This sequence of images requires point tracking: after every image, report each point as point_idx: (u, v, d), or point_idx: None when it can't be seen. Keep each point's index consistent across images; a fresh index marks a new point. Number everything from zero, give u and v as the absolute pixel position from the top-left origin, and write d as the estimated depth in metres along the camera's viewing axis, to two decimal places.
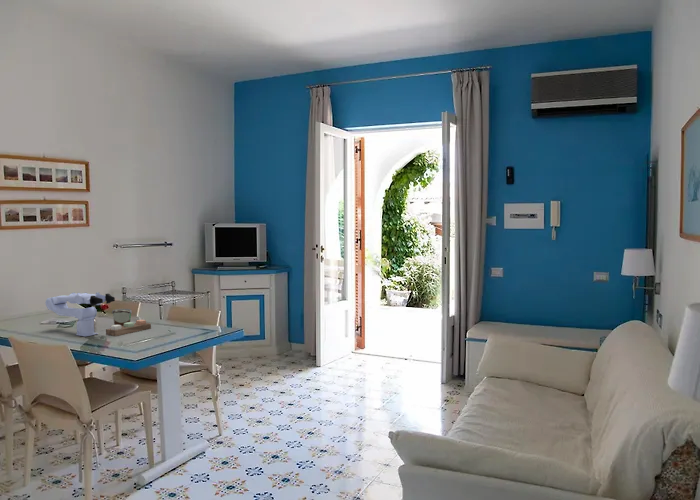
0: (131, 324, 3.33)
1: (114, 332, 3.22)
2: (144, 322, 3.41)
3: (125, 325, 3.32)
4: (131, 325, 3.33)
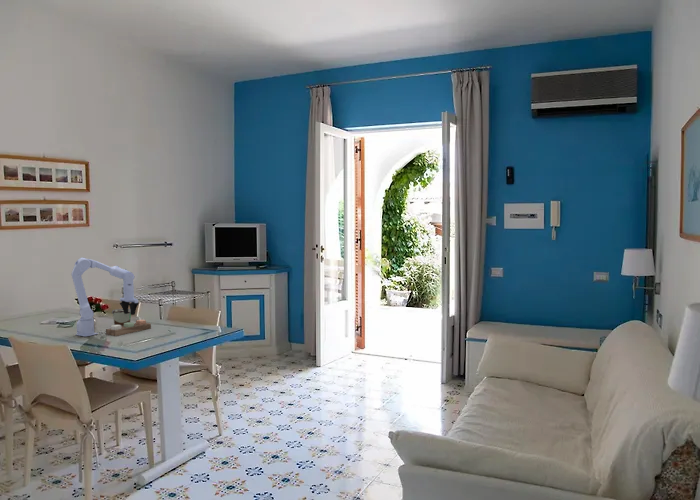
0: (131, 324, 3.33)
1: (114, 332, 3.22)
2: (144, 322, 3.41)
3: (125, 325, 3.32)
4: (131, 325, 3.33)
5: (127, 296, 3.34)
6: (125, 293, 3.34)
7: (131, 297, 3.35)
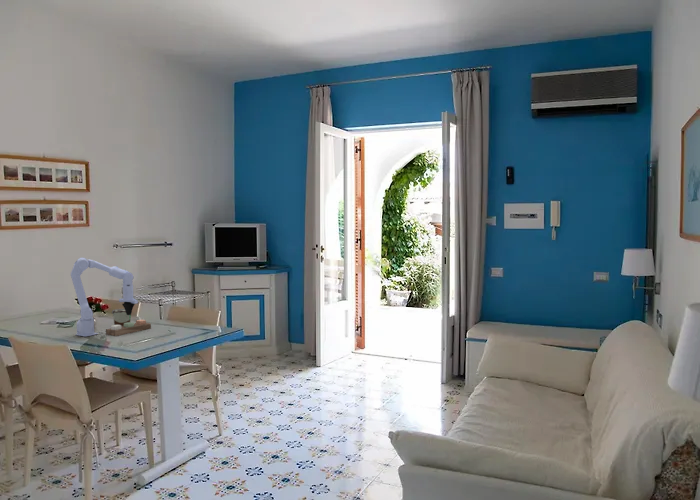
0: (131, 324, 3.33)
1: (114, 332, 3.22)
2: (144, 322, 3.41)
3: (125, 325, 3.32)
4: (131, 325, 3.33)
5: (126, 297, 3.32)
6: (124, 294, 3.32)
7: (130, 298, 3.33)
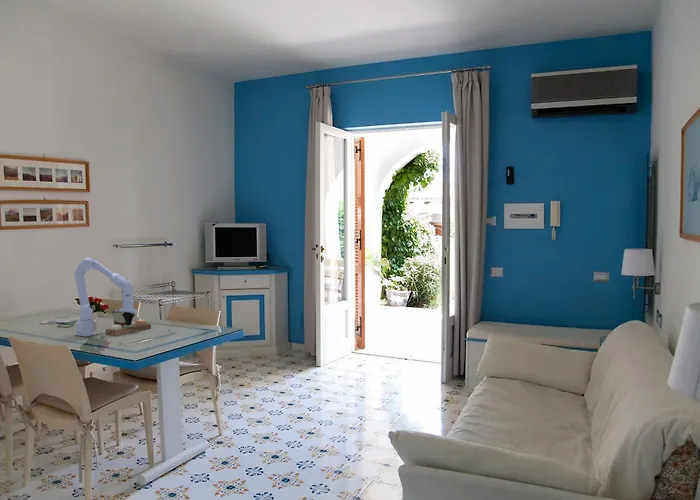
0: (131, 326, 3.33)
1: (114, 332, 3.22)
2: (144, 322, 3.41)
3: None
4: None
5: (126, 307, 3.30)
6: (124, 304, 3.30)
7: (130, 308, 3.31)
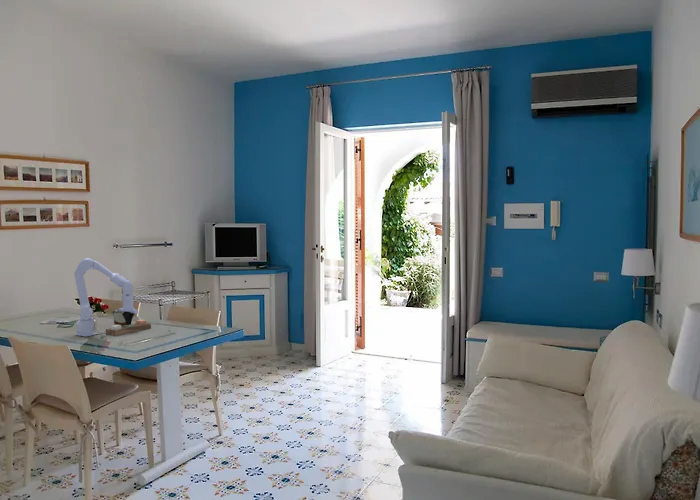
0: (131, 326, 3.33)
1: (114, 332, 3.22)
2: (144, 322, 3.41)
3: None
4: None
5: (126, 306, 3.30)
6: (124, 303, 3.30)
7: (130, 307, 3.31)
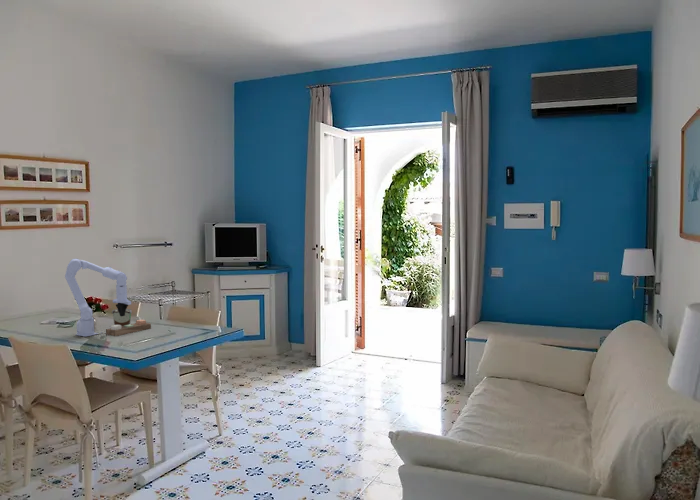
0: (131, 326, 3.33)
1: (114, 332, 3.22)
2: (144, 322, 3.41)
3: None
4: None
5: (120, 297, 3.29)
6: (118, 294, 3.29)
7: (124, 299, 3.30)
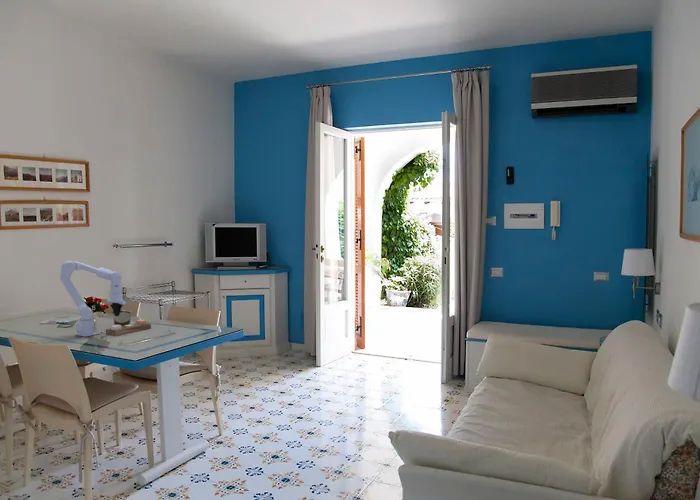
0: (131, 326, 3.33)
1: (114, 332, 3.22)
2: (144, 322, 3.41)
3: None
4: None
5: (114, 297, 3.29)
6: (112, 294, 3.29)
7: (118, 298, 3.30)
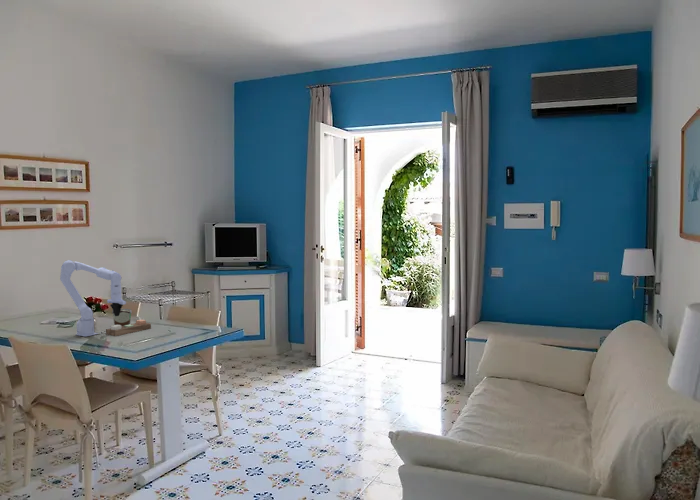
0: (131, 326, 3.33)
1: (114, 332, 3.22)
2: (144, 322, 3.41)
3: None
4: None
5: (114, 297, 3.29)
6: (112, 294, 3.29)
7: (118, 298, 3.30)
